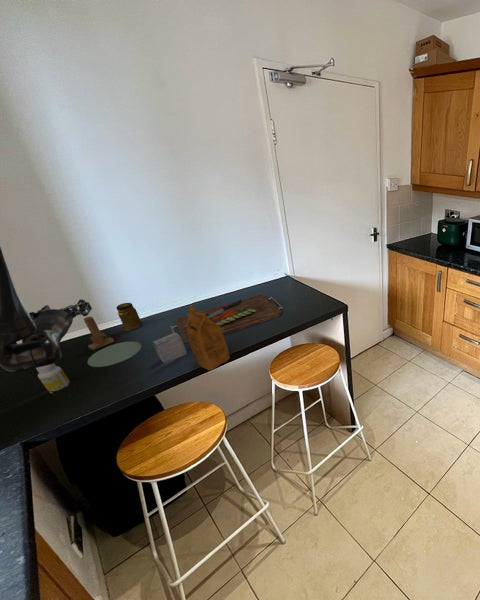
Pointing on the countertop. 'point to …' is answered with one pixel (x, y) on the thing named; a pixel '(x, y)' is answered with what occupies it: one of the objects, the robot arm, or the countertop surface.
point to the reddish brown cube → (94, 340)
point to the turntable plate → (114, 354)
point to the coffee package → (206, 340)
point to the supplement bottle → (52, 377)
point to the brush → (97, 335)
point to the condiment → (129, 317)
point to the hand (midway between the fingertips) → (65, 304)
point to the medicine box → (169, 347)
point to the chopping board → (236, 315)
